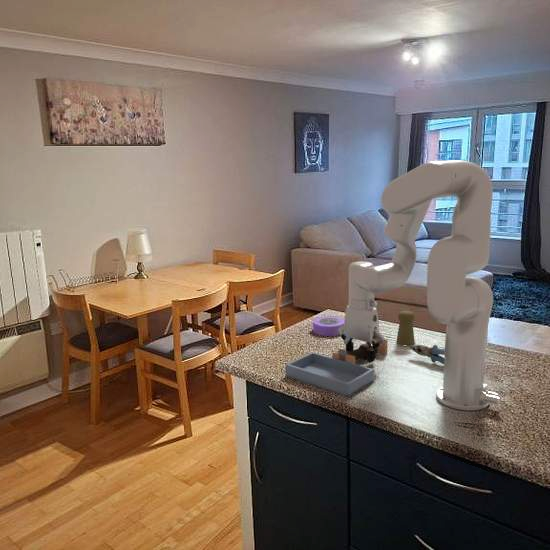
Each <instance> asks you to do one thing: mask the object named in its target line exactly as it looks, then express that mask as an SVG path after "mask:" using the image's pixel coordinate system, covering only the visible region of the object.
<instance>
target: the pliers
mask: <svg viewBox="0 0 550 550" xmlns="http://www.w3.org/2000/svg"><path fill="white" fill-rule="evenodd" d="M409 349H410V350H411V351H412V352H414V353H416V354H417V355H420V356H422V357H427V358H430V360H431V362H432V363H435V362H438V363H440V364H442V365H444V358H445V357H443V355H444V356H445V348H439V346H438V345H437V344H433V345H432V346H431V347H428V346H426V345H423V344H414V345H411V346H409Z"/></svg>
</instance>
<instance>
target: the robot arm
mask: <svg viewBox="0 0 550 550" xmlns="http://www.w3.org/2000/svg"><path fill="white" fill-rule="evenodd" d="M493 190H494V189H493V183H492V180H491V177H490V176H489V174H488V172H487V171H486V170H485V169H484V168H483V167H482V166H480V165H478V164H477V163H474V162H471V161H468V160H460V159H459V160H457V159H456V160H455V159H453V160H452V159H451V160H433V161H428V162H425V163H423V164H420V165H418V166H416V167H415V168H413V169H411V170H409V171H407V172H406V173H404V174H402V175H400V176H399V177H396V178H394V179H393V180H392V181H390V182H389V183H387V185H386V186H385V188H384V189H383V191H382V193H381V197H380V198H381V199H380V200H381V201H380V202H381V206H382V207H383V209H384V210H385V212H387V214H388V213H389V214H390V215H389V218H388V220H387V221H386V225H385V227H384V235H385V236H386V238H388V239H389V240H390V241H392V242H393V243H395V245H396V247H395V251H394V254H393V256H392V259H391V261H390V262H389V263H384V264H379V265H374V264H373V263H372V262H369V261H361V260H360V261H353V262H351V263H350V264H349V265H348V266H349V267H348V305H346V309H345V314H344V320H345V321H344V325H343V326H342V327H340V328H339V329H338V332H339V333H340V335H339V336H340V338H341V339H342V340H343V344H344V345H345V351H348V352H349V351H352V350H355V349H354V344H355V343H354V342H353V340H357V341H361V342H365V343H366V342H367V344H368V347H369V349H370V350H368V360H367V363H368V364H371V363H373V362H375V361H376V358H377V357H376V356H377V354H376V349H377V348H378V347H379V346H380V345H381V344H382V343H383V342H384V341H385V339H386V337H384V336H383V334H382V333H381V332H380V325H379V324H380V323H379V315H378V310H377V309H378V308H377V306H378V302H377V301H375V294H380V293H384V292H387V291H389V290H395V289H398V288H401V287H403V286H404V285H405V284H406V283H407V281H408V280H409V279H410V277H411V275H412V272H413V270H414V268H415V265H416V263H417V245H416V238H417V236H418V233H419V231H420V229H421V227H422V224H423V222H424V220H425V218H426V215H427V213H428V211H429V208H430V205H431V203H432V201H433V200H434V199H440V198H450V197H456V198H457V201H456V204H455V206H454V209H453V212H452V218H451V224H452V225H451V236H447V237H443V238H441V239H439V240H438V241H436V242H435V243H434V245H432V247H431V249H430V251H429V254H428V256H427V257H428V258H427V270H426V271H427V272H426V273H427V275H426V276H427V277H426V304H427V308H428V312H429V314H430V316H431V317H432V318H433V320H434V321H436V322H437V323H439V324H443V325H446V329H445V341H444V349H445V355H444V357H443V358H444V364H443V381H442V382H443V384H442V385H443V386H441V387H439V388H438V389H437V390H436V394H435V395H436V399H437V401H439V402H440V403H441V404H442V405H444V406H447V407H449V408H452V409H455V410H461V411H479V410H482V409H485V408H487V407H488V406H489V404H491V405H496V406H499V405H500V402H501V397H499V393H498V392H493V391H489V389H488V383H484V381H485V380H484V379H485V366H486V351H487V348H486V347H487V341H488V339H487V338H488V330H489V329H488V328H489V321H490V317H491V314H492V313H491V312H492V310H493V305H494V295H493V290H492V289H491V287H490V285H489V283H487V282H486V281H485V280H483V279H481V278H480V277H476V276H475V277H473V276H471V277H470V276H468V275H471V274H475V273H478V272H480V271H482V270H483V269H485V268H486V267H487V265H488V263H489V260H490V247H491V246H490V245H491V231H492V230H491V225H492V221H491V220H492V218H491V217H492V216H491V215H492V205H493ZM380 333H381V334H380ZM375 339H378V341H377V343H376V341H375ZM371 342H372V343H371Z"/></svg>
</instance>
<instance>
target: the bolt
mask: <svg viewBox="0 0 550 550" xmlns="http://www.w3.org/2000/svg"><path fill="white" fill-rule="evenodd" d="M341 350H343V349H342V348H341ZM368 350H370V349H369V347H368V345H366V343H363V344H360V346H358V348H356V349H353V350H352V351H349V352H348V351H347V354H348V355H352V356H355V362H356V361H359V360H364V361H365V360H366V361H368ZM377 350H378V349H376V353H377ZM337 352H339V350H338V351H337Z"/></svg>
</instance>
